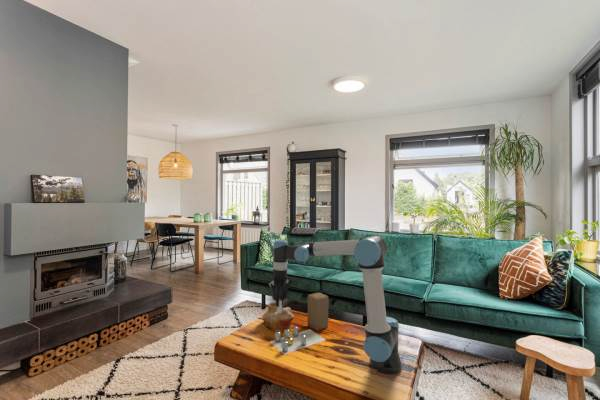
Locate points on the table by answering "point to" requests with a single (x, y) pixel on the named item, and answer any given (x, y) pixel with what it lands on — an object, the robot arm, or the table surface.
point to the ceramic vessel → (278, 318)
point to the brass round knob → (289, 340)
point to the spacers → (287, 333)
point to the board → (310, 340)
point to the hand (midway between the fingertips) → (279, 312)
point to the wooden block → (317, 311)
